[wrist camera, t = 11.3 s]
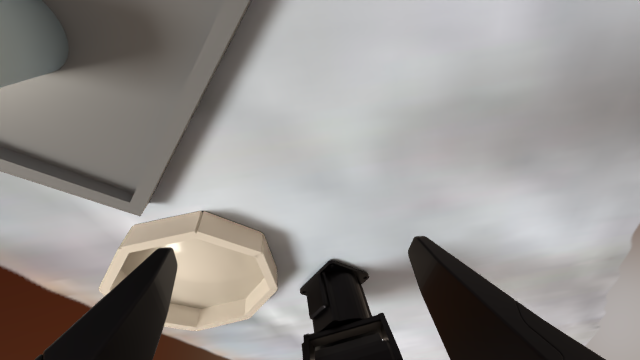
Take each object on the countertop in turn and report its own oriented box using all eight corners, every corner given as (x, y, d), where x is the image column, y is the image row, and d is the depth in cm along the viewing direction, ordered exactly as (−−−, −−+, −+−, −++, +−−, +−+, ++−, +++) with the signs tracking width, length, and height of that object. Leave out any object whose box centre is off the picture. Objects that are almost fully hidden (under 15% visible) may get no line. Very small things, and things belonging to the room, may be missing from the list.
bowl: (298, 245, 27) (301, 265, 25) (234, 315, 32) (232, 336, 30) (149, 191, 20) (136, 211, 18) (100, 290, 26) (85, 314, 23)
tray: (257, -12, 14) (256, -14, 13) (148, 203, 21) (140, 216, 19) (-411, -588, 6) (-599, -751, 5) (-242, 67, 13) (-301, 74, 11)
